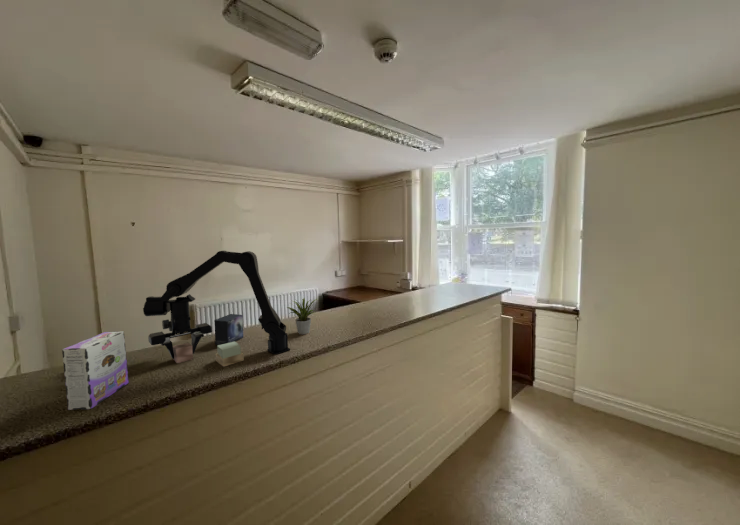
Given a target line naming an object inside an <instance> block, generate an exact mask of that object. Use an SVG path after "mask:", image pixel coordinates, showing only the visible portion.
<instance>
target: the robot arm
mask: <svg viewBox="0 0 740 525" xmlns="http://www.w3.org/2000/svg"><path fill="white" fill-rule="evenodd" d="M257 257H258V256H257V255H256V253H254V252H253V251H243V252H237V251H236V252H234V251H227V250H219V251H217V252H216V253H215V254H214V255H212V256H211V257H210V258H208V259H207V260H206V261H204V262H203V263H201V264H200V265H198V266H197V267H196V268H194V269H192V270H191V271H190V272H189V273H186V274H184V275H183V276H179V277H177V278H175V279H174V280H173V279H172V281H169V282H168V283H167V285H166V288H165V291H164V293H163V295H162V296H148V297H146V298H145V302H144V305H143V308H142V311H143V315H144V316H145V317H156V316H157V317H160V316H166V315H167V314H168V313H170V319H162V321H161V322H162V323H161V324H162V329H163V330H169V332H168V333H167V332H166V333H165V332H163V331H158V332H154V333H153V332H152V333H150V334H149V335H148V343H149V344H150V345H151V346H157V345H160V346H165V348H166V349H167V352H168V353H169V355H170V357H171V359H172V360H174V351H173V346H174V345H173V342H172V341H171V339H174V338H178V337H182V336H187V335H190V336H191V343H190V344H191V345H192V351H193V355H194V354H195V352H196V349H197V347H198V344H199V342H200V341H201V338H202V337H205V335H207V334H211V333H213V327H212V325H210V324H208V322H204V323H199V324H195V327H192V326H191V321H192V320H191V314H190V313H191V312H190V303H192V302H194V301H195V300H196V297H194V296H192V295H191V294H187V293H189V291H190V290H192V288H193V287H194V286H195V285H196V284H197V282H198V281H200V280H201V279H202V278H204V277H205V276H206V275H208V274H209V273H210V272H212V271H213V270H215V269H217V267H219V266H220V265H222V264H223V263H229V264H234V265H238V266H239V267H240V269H241V270H242V271H243V273H244V274H245V275H246V277H247V279H248V281H249V284H250V286H251V290H252V291H253V294H254V297H255V299H256V301H257V302H256V303H257V304H258V307H259V310H260V312H261V314H260V315H259V318H258V322H259V323H260V325H261V330H263V331H264V332H265V333H267V334H268V340H267V349H266V351H267V352H269V353H272V354H273V355H278V354H282V353H286V352H288V351H291V348H290V347H289V341H288V340H289V338H288V336H289V335H288V333H286V331H287V325H286V324H284V322H282V321H281V318H280V316H279V314H278V313H277V311H276V310H275V309H274V308H273V306H272V304H271V301H270V299H269V298H270V297H269V296H268V294H267V292H266V289H265V286H264V283H263V281H262V277H261V276H260V271H259V263H258V258H257ZM185 294H187V295H186V296H182V295H185ZM173 298H175V299H173Z"/></svg>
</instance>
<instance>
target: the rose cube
mask: <svg viewBox="0 0 740 525" xmlns="http://www.w3.org/2000/svg"><path fill="white" fill-rule="evenodd" d="M173 351H174V359H173V360H174V362H175V363H176V364H181V363H184V362H187V361H191V360H194V354H193V351H192V345H191V343H189V342H185V343H181V344H176V345H173Z"/></svg>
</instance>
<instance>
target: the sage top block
mask: <svg viewBox="0 0 740 525" xmlns="http://www.w3.org/2000/svg"><path fill="white" fill-rule="evenodd" d="M241 346H242V345H240V343H238V342H237V341H236V342H235V341H234V342H230V343H226V344H222V345H217V346H216V348H217V353H218V354H219V355H220V356H221V357H222V358H223V359H224V358H227V357H231V356H235V355H239V354H241V352H242V347H241Z"/></svg>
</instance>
